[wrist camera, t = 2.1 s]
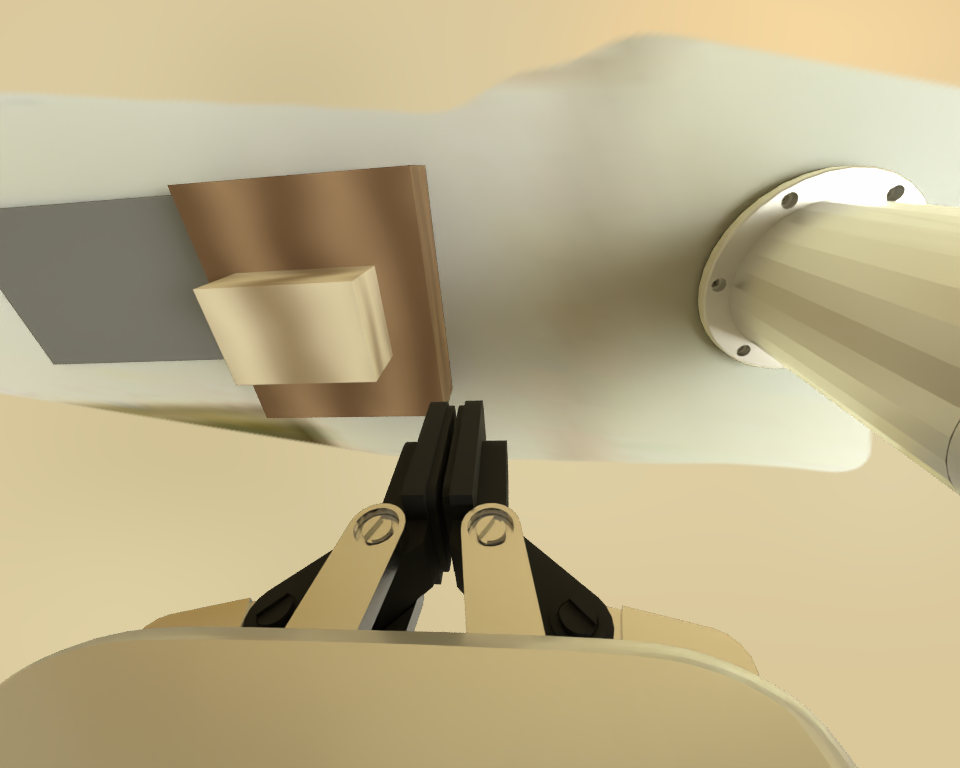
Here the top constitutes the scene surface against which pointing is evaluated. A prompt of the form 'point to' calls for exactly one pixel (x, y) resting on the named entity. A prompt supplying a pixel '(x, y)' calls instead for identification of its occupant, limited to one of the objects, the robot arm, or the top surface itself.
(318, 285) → the beige rectangular block
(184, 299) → the mat
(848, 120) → the top surface
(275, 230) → the step
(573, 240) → the top surface
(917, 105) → the top surface
